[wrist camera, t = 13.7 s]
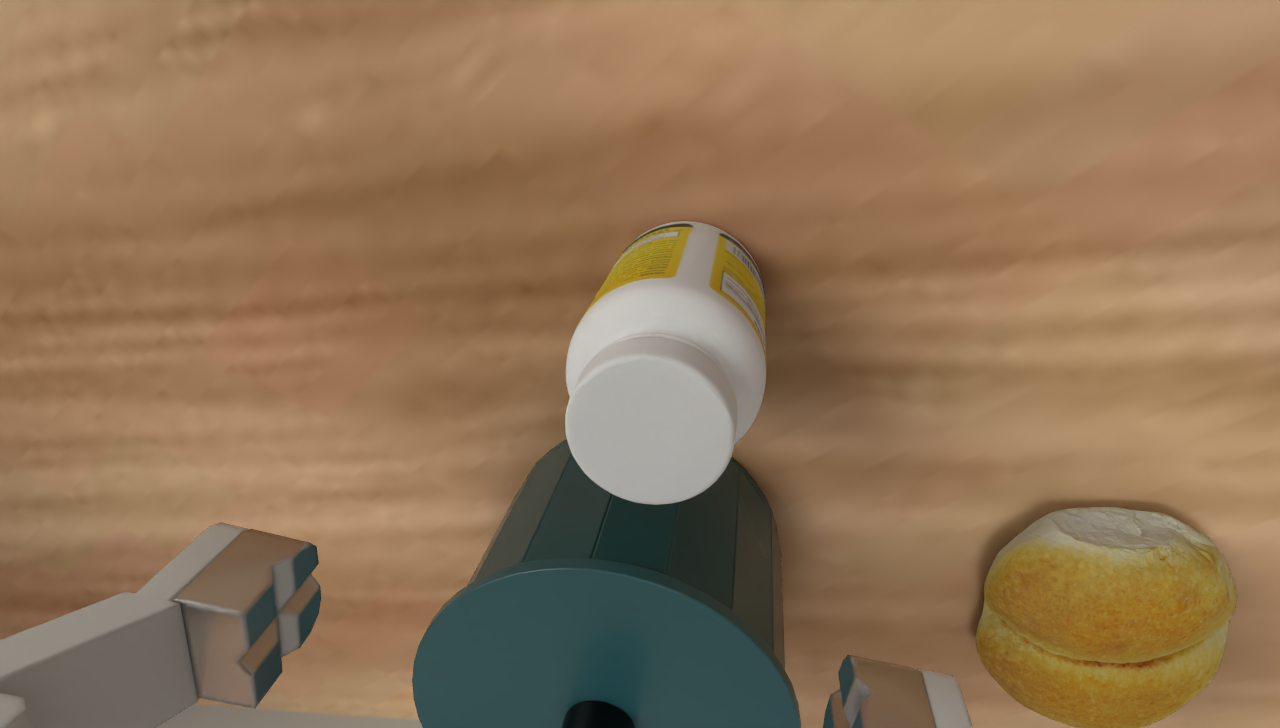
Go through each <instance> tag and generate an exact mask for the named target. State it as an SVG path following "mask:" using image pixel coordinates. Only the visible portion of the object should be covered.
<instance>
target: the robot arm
mask: <svg viewBox="0 0 1280 728" xmlns="http://www.w3.org/2000/svg"><path fill="white" fill-rule="evenodd" d="M318 564H319V562H318V554H317V547H316V546H315V545H313V544H311V543H309V542H304V541H300V540H296V539H292V538H288V537H283V536H279V535H275V534H271V533H266V532H262V531H258V530H254V529H246V528H242V527H238V526H234V525H230V524H225V523H221V522H220V523H217V524H215V525H212V526H210V527H208V528H207V529H206V530H205V531H204V532H203V533H202V534H200V535H199V536H198V537H197V538H196V539H195V540H194V541H193V542H192V543H190V544H189V545H188V546H187V547H186V548H185V549H184V550H183V551H182V552H181V553H179V554H178V555H177V556H176V557H175V558H174V559H173V560H172V561H171V562H170V563H168V564H167V565H166V566H165V567H164V568H163V569H162V570H161V571H160V572H159V573H157V574H156V575H155V576H154V577H153V578H152V579H151V580H150V581H149V582H148V583H146V584H145V585H144V586H143V587H142V588H141V589H140V590H139V591H138V592H137V593H130V592H123V593H121V594H118V595H116V596H113V597H110V598H108V599H105V600H103V601H100V602H97V603H95V604H92V605H90V606H87V607H84V608H82V609H79V610H77V611H74V612H71V613H69V614H66V615H64V616H61V617H58V618H56V619H53V620H51V621H48V622H45V623H43V624H40V625H38V626H35V627H32V628H30V629H27V630H25V631H22V632H19V633H17V634H14V635H12V636H9V637H7V638H4V639H1V640H0V728H156V727H157V726H159V725H161V724H162V723H164V722H165V721H167V720H168V719H170V718H172V717H173V716H175V715H177V714H178V713H180V712H181V711H183V710H184V709H186V708H187V707H189V706H191V705H192V704H194V703H196V702H197V701H198V698H203V699H208V700H213V701H218V702H223V703H229V704H234V705H239V706H244V707H249V708H254V709H255V708H256V707H257V705H258V704H259V702H260V701H261V700H262V698H263V697H264V696H265V694H266V693H267V692H268V690H269V689H270V688H271V686H272V685H273V684H274V682H275V681H276V679H277V678H278V677H279V675H280V674H281V673H282V661H281V657H283V656H285V655H287V654H289V653H290V652H292V651H294V650H296V649H298V648H300V647H301V645H302V644H303V642H304V641H305V639H306V638H307V637H308V635H309V634H310V632H311V630H312V628H313V625H314V623H315V620H316V618H317V616H318V613H319V607H320V601H321V590H320V585H319V584H318V582H317V581H316V580H315V578H314V577H313V576H312V575H311V572H312V571H313V570H314V569H315V567H316V566H317V565H318ZM839 681H840V689H839V690H838V691H836V692H834V693H833V694H831V695H830V698H829V702H828V705H827V708H826V711H825V718H824V725H823V728H973V726H972V723H971V720H970V717H969V714H968V711H967V708H966V705H965V702H964V699H963V696H962V693H961V690H960V687H959V684H958V681H957V680H956V679H955V678H954V676H953V675H949V674H944V673H939V672H934V671H928V670H923V669H915V668H912V667H907V666H902V665H897V664H892V663H887V662H882V661H877V660H872V659H867V658H862V657H857V656H852V655H847V656H846V658H845V659H844V660H843V662H842V665H841V668H840V670H839Z"/></svg>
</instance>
